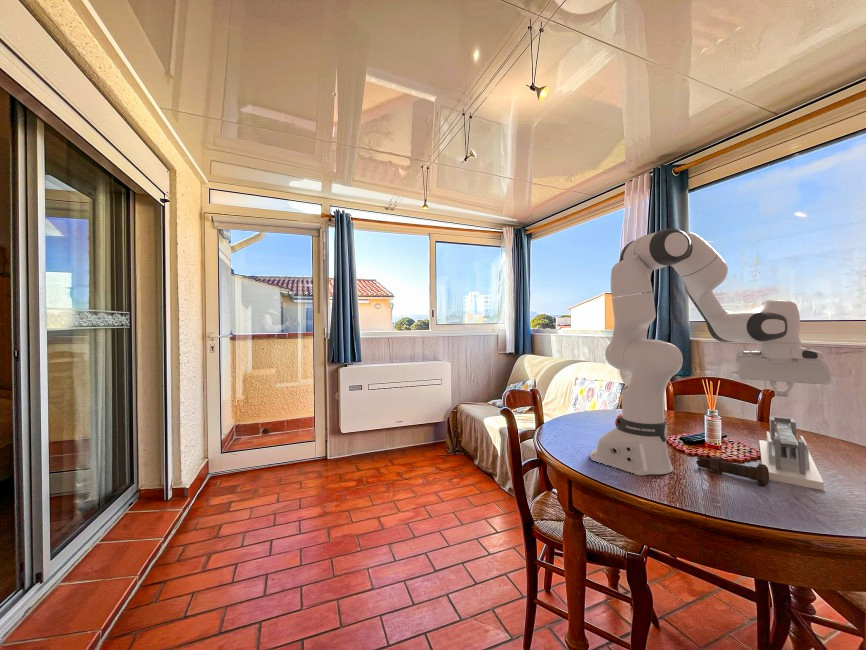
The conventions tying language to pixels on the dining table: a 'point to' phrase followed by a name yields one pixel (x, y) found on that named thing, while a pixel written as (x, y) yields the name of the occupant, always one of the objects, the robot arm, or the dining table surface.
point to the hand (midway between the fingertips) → (781, 396)
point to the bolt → (735, 469)
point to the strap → (786, 435)
